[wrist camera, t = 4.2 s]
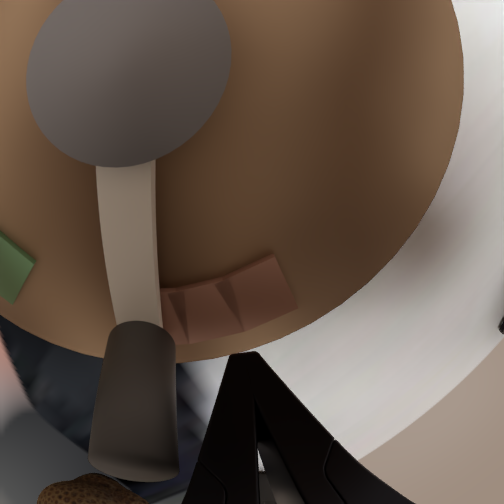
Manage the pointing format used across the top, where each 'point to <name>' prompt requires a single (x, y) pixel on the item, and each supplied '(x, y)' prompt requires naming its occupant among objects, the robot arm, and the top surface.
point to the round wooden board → (244, 176)
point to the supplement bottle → (265, 490)
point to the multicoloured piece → (130, 186)
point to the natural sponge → (89, 492)
